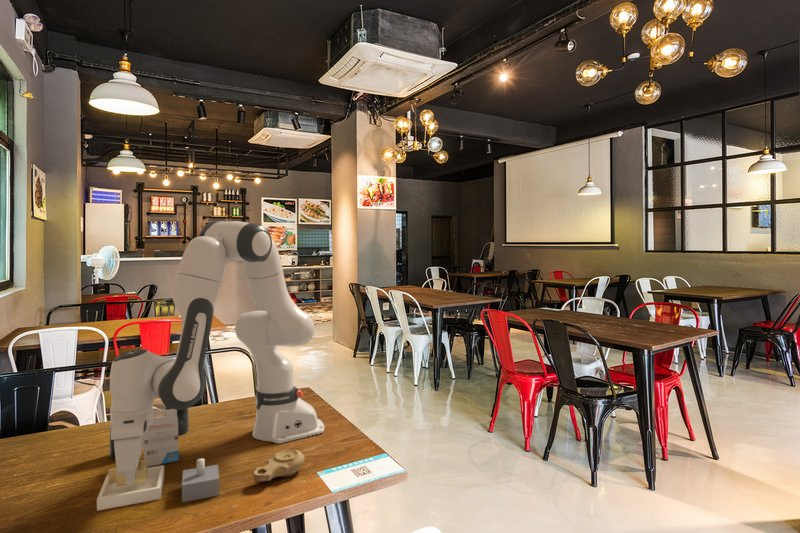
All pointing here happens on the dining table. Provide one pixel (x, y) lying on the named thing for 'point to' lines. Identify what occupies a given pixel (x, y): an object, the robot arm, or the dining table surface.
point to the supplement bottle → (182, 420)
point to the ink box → (162, 438)
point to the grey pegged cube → (200, 482)
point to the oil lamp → (280, 465)
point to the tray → (131, 491)
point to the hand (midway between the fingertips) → (132, 475)
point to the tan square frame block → (121, 478)
